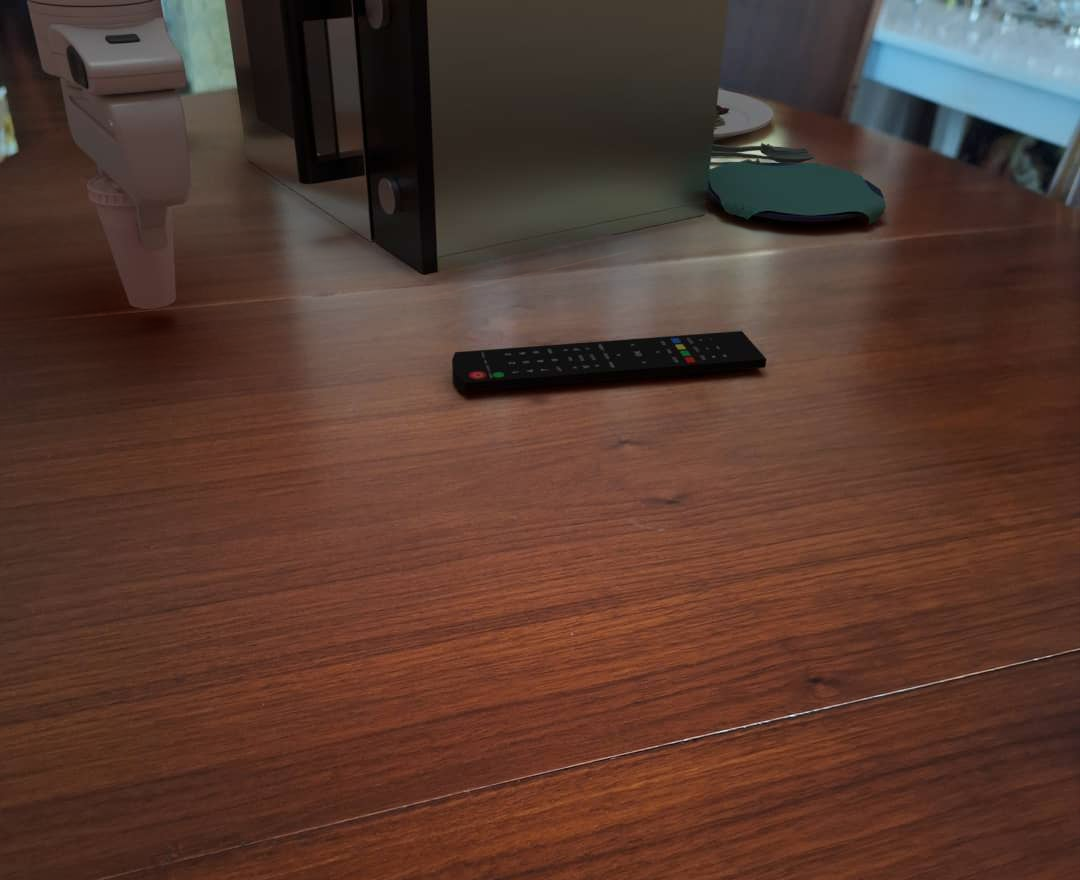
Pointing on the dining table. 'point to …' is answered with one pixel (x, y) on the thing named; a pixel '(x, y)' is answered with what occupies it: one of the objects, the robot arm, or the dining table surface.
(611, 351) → the remote control
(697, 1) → the microwave
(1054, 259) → the dining table surface
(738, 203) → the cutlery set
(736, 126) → the plated food
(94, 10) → the robot arm
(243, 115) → the microwave door
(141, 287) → the smoothie
